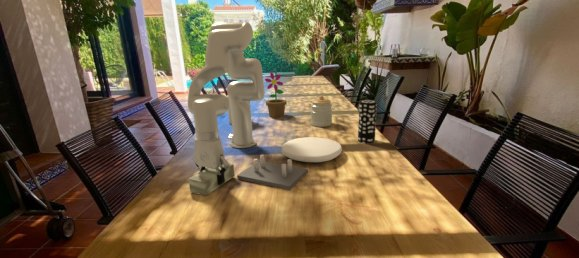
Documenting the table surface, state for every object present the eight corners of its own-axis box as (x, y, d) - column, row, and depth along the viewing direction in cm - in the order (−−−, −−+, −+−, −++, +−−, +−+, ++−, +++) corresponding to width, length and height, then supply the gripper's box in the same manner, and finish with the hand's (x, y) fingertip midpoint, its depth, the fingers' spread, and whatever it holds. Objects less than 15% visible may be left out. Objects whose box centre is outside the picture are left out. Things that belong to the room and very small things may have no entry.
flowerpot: (264, 118, 202) (261, 72, 194) (268, 113, 216) (266, 70, 207) (285, 118, 200) (283, 72, 191) (288, 113, 213) (287, 70, 205)
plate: (288, 134, 151) (343, 136, 146) (288, 147, 152) (342, 149, 147) (274, 147, 124) (340, 151, 119) (274, 163, 125) (340, 167, 120)
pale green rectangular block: (206, 195, 102) (204, 182, 100) (190, 191, 105) (188, 178, 103) (234, 176, 115) (233, 164, 114) (220, 172, 118) (218, 161, 117)
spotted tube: (371, 144, 147) (374, 103, 141) (355, 141, 151) (356, 102, 145) (377, 139, 153) (379, 100, 148) (361, 137, 158) (362, 99, 152)
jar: (317, 120, 193) (317, 93, 188) (335, 123, 185) (336, 94, 181) (306, 125, 183) (306, 96, 178) (325, 128, 175) (325, 98, 170)
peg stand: (237, 178, 114) (236, 162, 112) (260, 163, 128) (259, 149, 126) (289, 190, 104) (289, 172, 103) (308, 172, 118) (307, 156, 116)
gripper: (180, 135, 105) (187, 181, 110) (220, 141, 97) (225, 190, 103) (196, 129, 111) (201, 173, 116) (234, 134, 104) (238, 181, 109)
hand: (212, 181), depth 109 cm, fingers closed on pale green rectangular block, 7 cm apart
